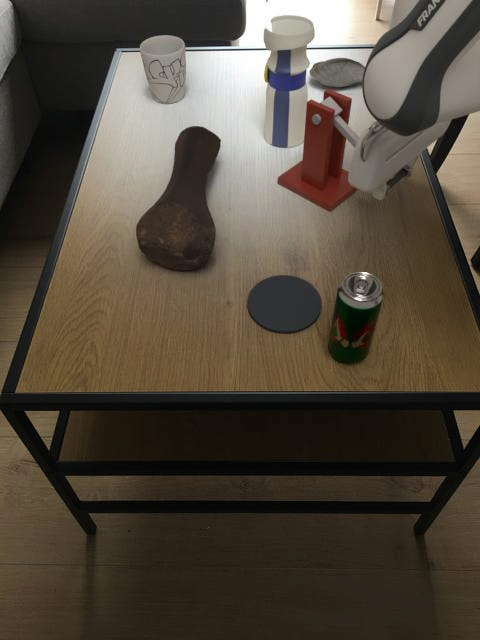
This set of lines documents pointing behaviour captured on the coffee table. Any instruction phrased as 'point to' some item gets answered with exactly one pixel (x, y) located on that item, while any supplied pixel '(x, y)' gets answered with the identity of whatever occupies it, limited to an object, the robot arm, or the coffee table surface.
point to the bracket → (322, 156)
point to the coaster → (284, 304)
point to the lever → (355, 136)
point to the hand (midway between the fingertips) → (392, 185)
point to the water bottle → (287, 79)
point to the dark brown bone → (183, 207)
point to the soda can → (355, 317)
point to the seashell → (338, 72)
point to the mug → (165, 67)
